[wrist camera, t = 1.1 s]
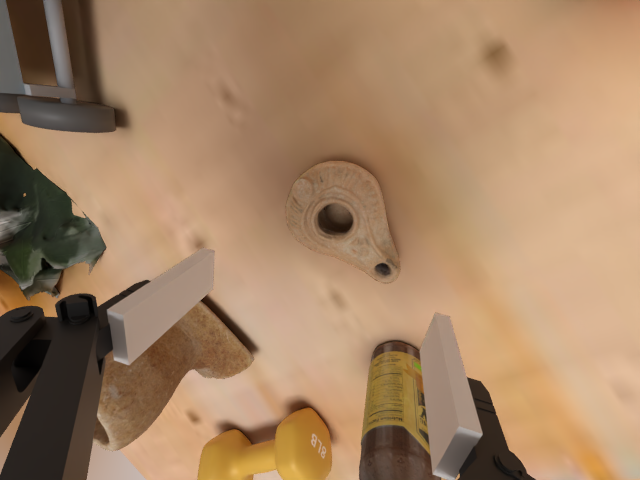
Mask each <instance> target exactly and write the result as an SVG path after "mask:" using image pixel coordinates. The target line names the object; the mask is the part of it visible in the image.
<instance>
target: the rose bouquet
mask: <svg viewBox="0 0 640 480" xmlns="http://www.w3.org/2000/svg"><path fill="white" fill-rule="evenodd" d="M24 193H26V196H25V197H23V194H24ZM71 200H72V199H71V198H70V197H69V196H68V195H67V194H66V193H65V192H64V191H62V190H61V189H60V188H58V187H57V186H56V185H55V184H54V183H52V182H51V181H50V180H49V179H48V178H46V177H45V176H44V175H43V174H42V173H41V172H40V171H39V170H38V169H35V170H32V168H31V167H30V166H29V165H27V164H26V163H25V162H24V161H23V160H22V159H21V158H20V157H19V156H18V155H17V154H16V153H15V152H14V150H13V149H12V148H11V146H10V145H9V144H8V143H7V142H6V141H5V140H4V139H3V138H2V137H1V136H0V270H2V271H3V272H5V273H6V274H8V275H9V276H11V277H12V278H13V279H14V280H15V281H16V282H17V283H18V284H19V287H20V289H21V291H23V294H24V295H25V296H26V299H27V300H30V296H33V295H34V294H36V293H39V292H40V291H41V292H43V291H44V292H46V293H48V294H50V295H52V297H53V296H55V297H56V298H58V296H59V295H60V293H59V292H58V291H57V289H56V288H55V287H54V286H55V285H56V284H57V282H58V280H59V278H60V275H61V271H62V270H63V269H65V268H68V267H70V266H72V265H74V264H76V263H80V262H84V261H86V263H89V264H90V265H89V266H90V267H89V273H88V274H90V273H91V271H92V269H93V267H94V266H95V264H96V262H97V260H98V259H99V257H100V255H101V253H102V252H103V251H104V250H105V249H106V245H105V244H104V242H103V240H102V238H101V235H100V233H99V230H98V227H97V226H96V225H95V224H94V223H93V222H92V221H91V220H90V219H89V218H88V217H87V216H86V215H85V214H84V215H85V216H86V218H81V217H79V216H75V215H73V213H72V202H71ZM72 201H73V200H72ZM73 202H74V201H73ZM47 262H48V263H49V264H50V265H51V266H48V263H47Z"/></svg>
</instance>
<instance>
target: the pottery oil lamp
mask: <svg viewBox="0 0 640 480" xmlns="http://www.w3.org/2000/svg"><path fill="white" fill-rule="evenodd" d="M325 206H326V209H325V211H324V210H323V208H324V207H325ZM286 219H287V225H288V227H289V230H290V231H291V233H292V234H293V236H294V237H295V238H296V240H297V241H299V242H300V243H302V244H303V245H305V246H306V247H308V248H309V249H311V250H314V251H316V252H319V253H322V254H326V255H330V256H333V257H336V258H338V259H340V260H342V261H345V262H347V263H349V264H351V265H353V266H355V267H357V268H359V269H360V270H362V271H364V272H366V273H367V274H368V275H370V276H371V277H372V278H373V279H375V280H376V281H379V282H381V283H391V282H393V281H395V280H396V279H397V278H398V276H399V273H400V262H399V257H398V253H397V251H396V248H395V244H394V242H393V239H392V237H391V234H390V231H389V228H388V222H387V216H386V211H385V205H384V199H383V195H382V191H381V188H380V186H379V183H378V182H377V180H376V178H375V177H374V176H373V175H372V174H370V173H369V172H368V171H367V170H365V169H364V168H362V167H360V166H358V165H356V164H353V163H350V162H346V161H327V162H323V163H319V164H316V165H315V166H313V167H311V168H310V169H308V170H307V171H306V172H304V173H303V174H302V175H301V176H300V177H299V178H298V179H297V180H296V181H295V182H294V184H293V186H292V189H291V191H290V194H289V197H288V199H287V203H286Z"/></svg>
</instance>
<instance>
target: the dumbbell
mask: <svg viewBox="0 0 640 480" xmlns="http://www.w3.org/2000/svg"><path fill="white" fill-rule="evenodd" d="M331 466H332V452H331V441H330V434H329V431H328V428H327V426H326V425H325V423H324V422H323V421H322V419H321V418H320V417H319V416H318V414H317V413H316V412H315V411H314V410H313V409H311V408H304V409H301V410H298V411H296V412H294V413H292V414H290V415H289V416H288V417H286V418H285V419H284V420H283V421H282V422H281V423H280V424H279V425H278V427H277V430H276V435H275V439H274V440H270V441H266V442H262V443H258V444H254V445H252V444H251V442H250V441H249V440H248V439H247V437H246V436H245V435H244V434H243V433H242V432H240V431H239V430H237V429H233V430H229V431H226V432H223V433H221V434H220V435H218V436H216V437H215V438H213V439H212V440H210V441H209V442H208V443H207V444H206V445H205V446H204V448H203V450H202V454H201V458H200V464H199V470H198V480H253V475H254V474H258V473H265V472H269V471H273V470H276V469H277V471H278V473H279V475H280V476H281V478H282V479H283V480H325V479H326V477H327V476H328V474H329V472H330V470H331Z"/></svg>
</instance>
